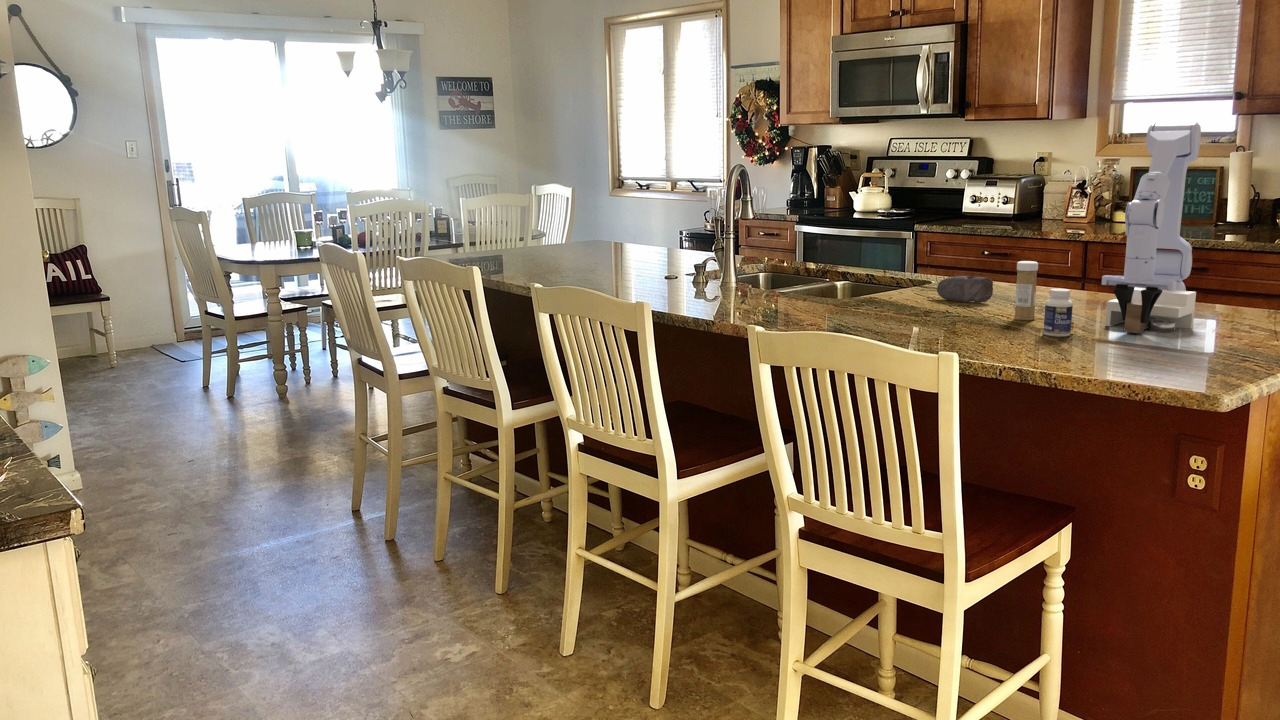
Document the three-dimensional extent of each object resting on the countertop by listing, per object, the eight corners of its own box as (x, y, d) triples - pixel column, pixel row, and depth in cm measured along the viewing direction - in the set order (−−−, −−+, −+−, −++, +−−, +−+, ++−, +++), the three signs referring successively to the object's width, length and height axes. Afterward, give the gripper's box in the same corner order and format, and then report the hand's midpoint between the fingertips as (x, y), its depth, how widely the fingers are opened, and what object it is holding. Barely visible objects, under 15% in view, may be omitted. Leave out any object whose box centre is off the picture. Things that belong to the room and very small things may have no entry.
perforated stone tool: (931, 300, 265) (932, 274, 264) (942, 298, 268) (943, 272, 267) (983, 306, 254) (984, 279, 252) (994, 304, 257) (995, 276, 256)
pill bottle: (1054, 337, 213) (1057, 292, 211) (1037, 333, 218) (1040, 288, 216) (1076, 336, 214) (1079, 290, 212) (1059, 331, 219) (1062, 287, 217)
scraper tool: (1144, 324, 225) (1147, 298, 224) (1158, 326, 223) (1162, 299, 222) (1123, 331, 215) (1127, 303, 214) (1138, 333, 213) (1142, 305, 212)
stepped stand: (1122, 320, 231) (1125, 285, 229) (1192, 328, 220) (1196, 291, 218) (1105, 325, 225) (1108, 290, 223) (1176, 334, 214) (1180, 296, 212)
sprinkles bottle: (1038, 319, 234) (1042, 261, 231) (1026, 321, 231) (1030, 263, 229) (1021, 316, 238) (1025, 259, 235) (1009, 319, 235) (1012, 261, 232)
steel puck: (1154, 327, 223) (1155, 318, 222) (1178, 330, 219) (1179, 320, 219) (1145, 330, 219) (1145, 321, 219) (1169, 333, 216) (1170, 324, 215)
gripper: (1097, 256, 214) (1092, 319, 217) (1169, 261, 204) (1163, 327, 207) (1111, 253, 219) (1106, 315, 222) (1182, 258, 209) (1176, 323, 211)
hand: (1134, 321), depth 215 cm, fingers closed on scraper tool, 3 cm apart
